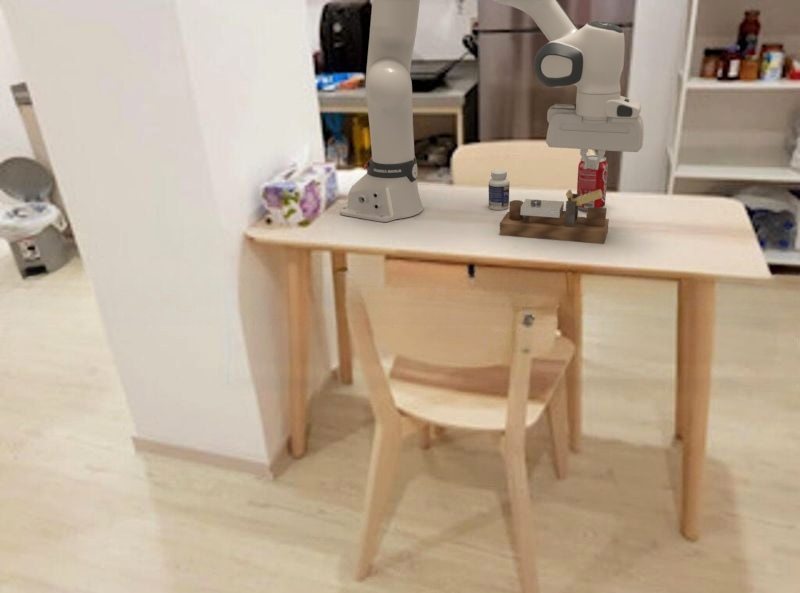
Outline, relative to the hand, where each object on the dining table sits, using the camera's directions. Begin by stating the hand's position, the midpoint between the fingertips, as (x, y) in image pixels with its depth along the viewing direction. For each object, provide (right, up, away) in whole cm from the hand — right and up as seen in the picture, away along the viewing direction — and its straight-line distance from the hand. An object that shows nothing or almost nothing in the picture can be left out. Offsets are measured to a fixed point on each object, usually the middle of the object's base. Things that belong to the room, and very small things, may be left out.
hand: (591, 168), depth 144 cm
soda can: (+7, -6, +24) cm, 25 cm away
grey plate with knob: (-9, -8, +9) cm, 15 cm away
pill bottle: (-16, -5, +29) cm, 33 cm away
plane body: (-6, -13, +10) cm, 18 cm away
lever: (-4, -6, +5) cm, 9 cm away
